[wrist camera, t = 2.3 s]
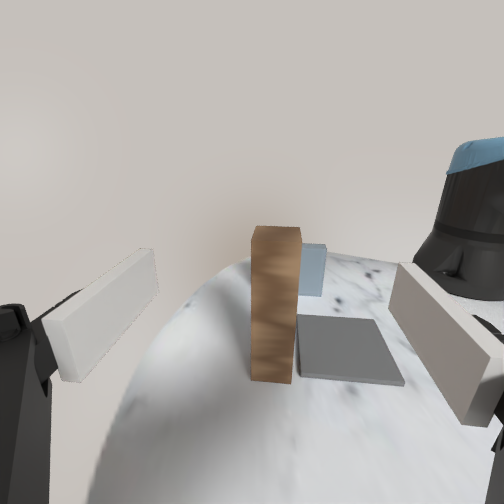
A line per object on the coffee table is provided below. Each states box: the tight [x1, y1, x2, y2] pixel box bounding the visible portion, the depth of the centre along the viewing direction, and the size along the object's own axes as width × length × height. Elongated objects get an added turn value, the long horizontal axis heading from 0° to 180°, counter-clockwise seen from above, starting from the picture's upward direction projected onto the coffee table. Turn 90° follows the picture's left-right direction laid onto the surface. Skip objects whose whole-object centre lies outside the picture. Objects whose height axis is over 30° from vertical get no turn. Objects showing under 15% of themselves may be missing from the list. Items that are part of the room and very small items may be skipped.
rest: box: [297, 314, 405, 386], centre depth 31 cm, size 10×10×1 cm
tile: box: [298, 243, 327, 297], centre depth 42 cm, size 10×2×8 cm, turn 83°
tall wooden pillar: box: [251, 226, 302, 384], centre depth 26 cm, size 4×4×15 cm
